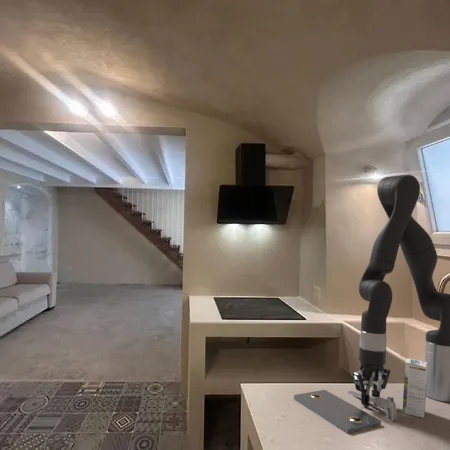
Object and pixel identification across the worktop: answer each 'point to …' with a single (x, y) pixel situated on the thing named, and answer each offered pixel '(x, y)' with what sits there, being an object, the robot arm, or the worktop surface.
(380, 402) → the caliper
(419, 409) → the syrup box
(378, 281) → the robot arm
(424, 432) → the worktop surface
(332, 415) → the hole plate
